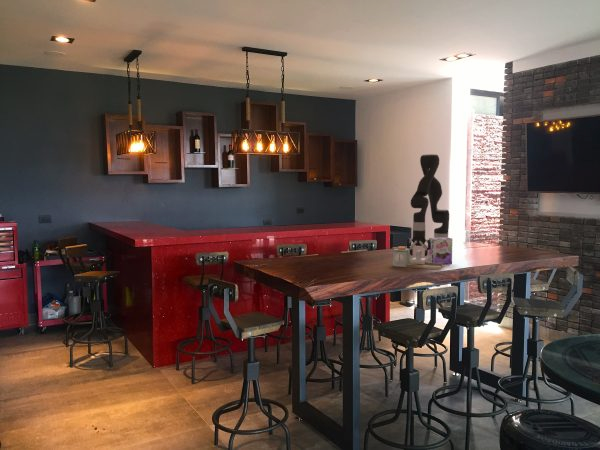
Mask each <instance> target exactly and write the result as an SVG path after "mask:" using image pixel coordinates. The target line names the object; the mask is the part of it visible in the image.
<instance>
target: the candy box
mask: <svg viewBox="0 0 600 450" xmlns="http://www.w3.org/2000/svg"><path fill="white" fill-rule="evenodd" d="M429 239H430V240H431V249H429V250H428V255H427V258H428V259H427V262H433V263H442V265H448V264H449V265H450V264H451V265H452V264H453V237H448V238H434V237H428V240H429Z"/></svg>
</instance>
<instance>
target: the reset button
mask: <svg viewBox="0 0 600 450" xmlns="http://www.w3.org/2000/svg"><path fill="white" fill-rule="evenodd" d="M396 249H397V250H406V249H407V246H401V245H400V246H397V247H396Z"/></svg>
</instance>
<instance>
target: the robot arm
mask: <svg viewBox="0 0 600 450" xmlns="http://www.w3.org/2000/svg"><path fill="white" fill-rule="evenodd" d="M419 162H420V163H419V164H420V167H421V171H422V174H423V176H422V178H421V179H420V180H419V182H418V185H417V189H416V191H415V193H414V194H413V195H412V197H411V199H410V206H411V208H413V209H420V211H416V212H414V213H413V217H412V218H413V222H412V238H409V237H408V238H407V240H406V241H407V242H406V249H410V257H411V256H413V255H414V252H413V251H414V249H413V248H415V246H416V247H422V248H423V249H424V257H428V252H429V249H431V240H430V239H429V238H428V239H426V215H427V210H428V206H430V214H431V220H432V222H433V223H434V224H441V226H439V227H436V228H434V229H433V238H449V228H450V227H449V226H450V211H449V210H448V209H438V203H439V201H440V200H441V198H442V195H443V190H442V189H443V188H442V185H441V182H440V181H439V180H438V179H437V178H436V176H435V174H436V172H437V170H438V168H439V165H440V157H439V155H438V154H437V153H434V154H433V153H431V154H430V153H429V154H422V155H420V158H419ZM427 196H428V197H427ZM411 242H412V244H411ZM425 243H426V244H427V245H426V244H425Z"/></svg>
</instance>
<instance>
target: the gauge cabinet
mask: <svg viewBox="0 0 600 450" xmlns="http://www.w3.org/2000/svg"><path fill="white" fill-rule="evenodd" d="M392 254H393V255H392V257H393V258H392V266H393V267H398V268H399V267H403V268H407V267H406V264H408V261H411V255H410V249H408V248H406V250H397V248H394V249H393V250H392Z"/></svg>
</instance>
